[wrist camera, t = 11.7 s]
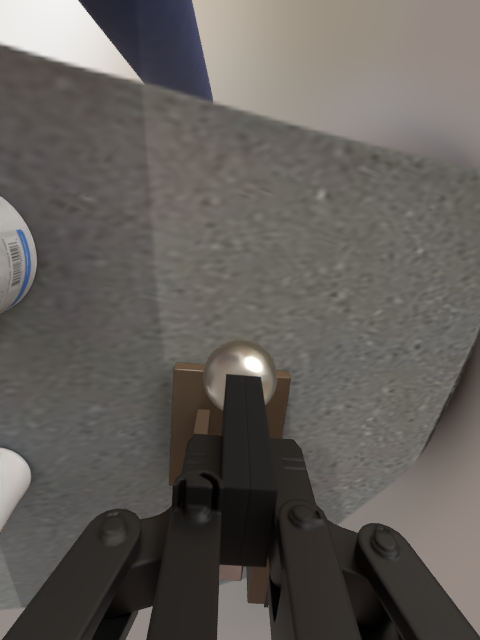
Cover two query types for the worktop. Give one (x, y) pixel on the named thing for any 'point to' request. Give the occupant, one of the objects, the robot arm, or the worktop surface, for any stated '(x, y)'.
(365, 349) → the worktop surface
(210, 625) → the robot arm
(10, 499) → the white tapered cylinder
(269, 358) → the tap lever
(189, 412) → the bracket
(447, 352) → the worktop surface
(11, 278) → the supplement tub
